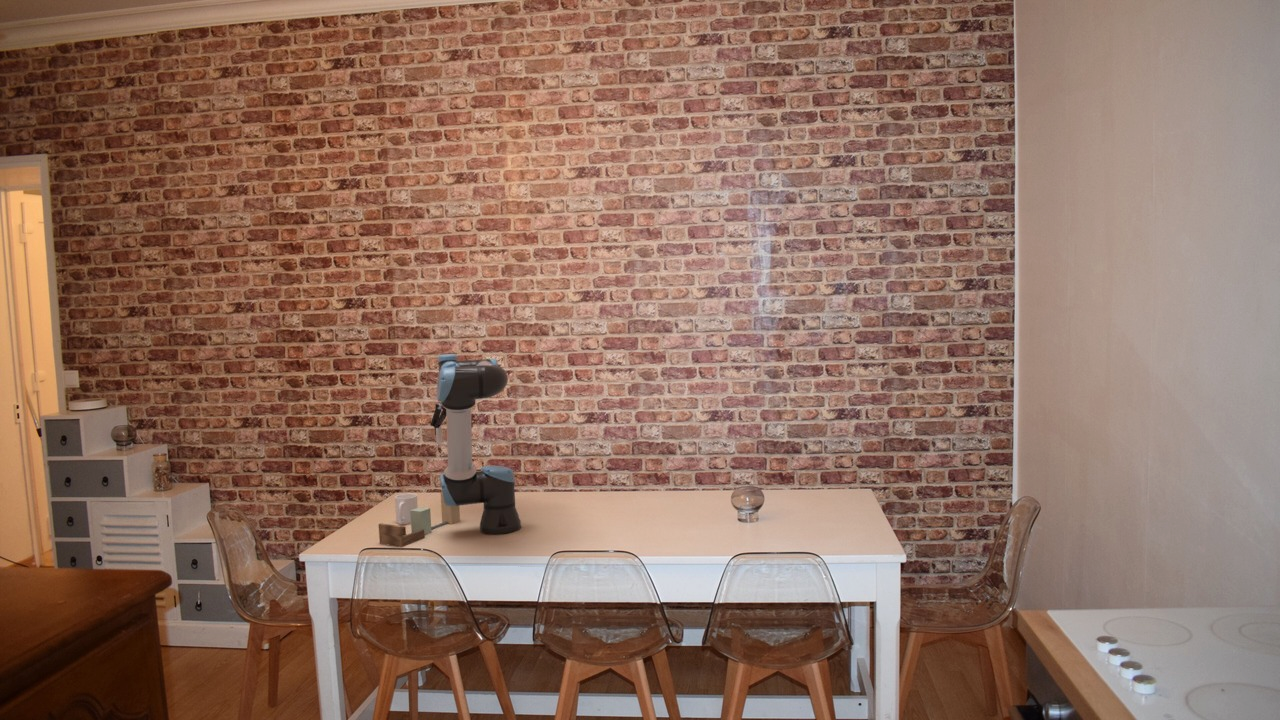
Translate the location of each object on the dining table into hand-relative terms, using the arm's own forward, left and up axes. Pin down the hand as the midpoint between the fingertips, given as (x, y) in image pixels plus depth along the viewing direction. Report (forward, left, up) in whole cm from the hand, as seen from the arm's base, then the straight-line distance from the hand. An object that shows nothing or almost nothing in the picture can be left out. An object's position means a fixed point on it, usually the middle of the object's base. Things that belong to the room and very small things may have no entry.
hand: (452, 444), depth 335 cm
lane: (-11, +41, -27) cm, 50 cm away
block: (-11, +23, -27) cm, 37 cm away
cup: (+5, +23, -27) cm, 36 cm away
